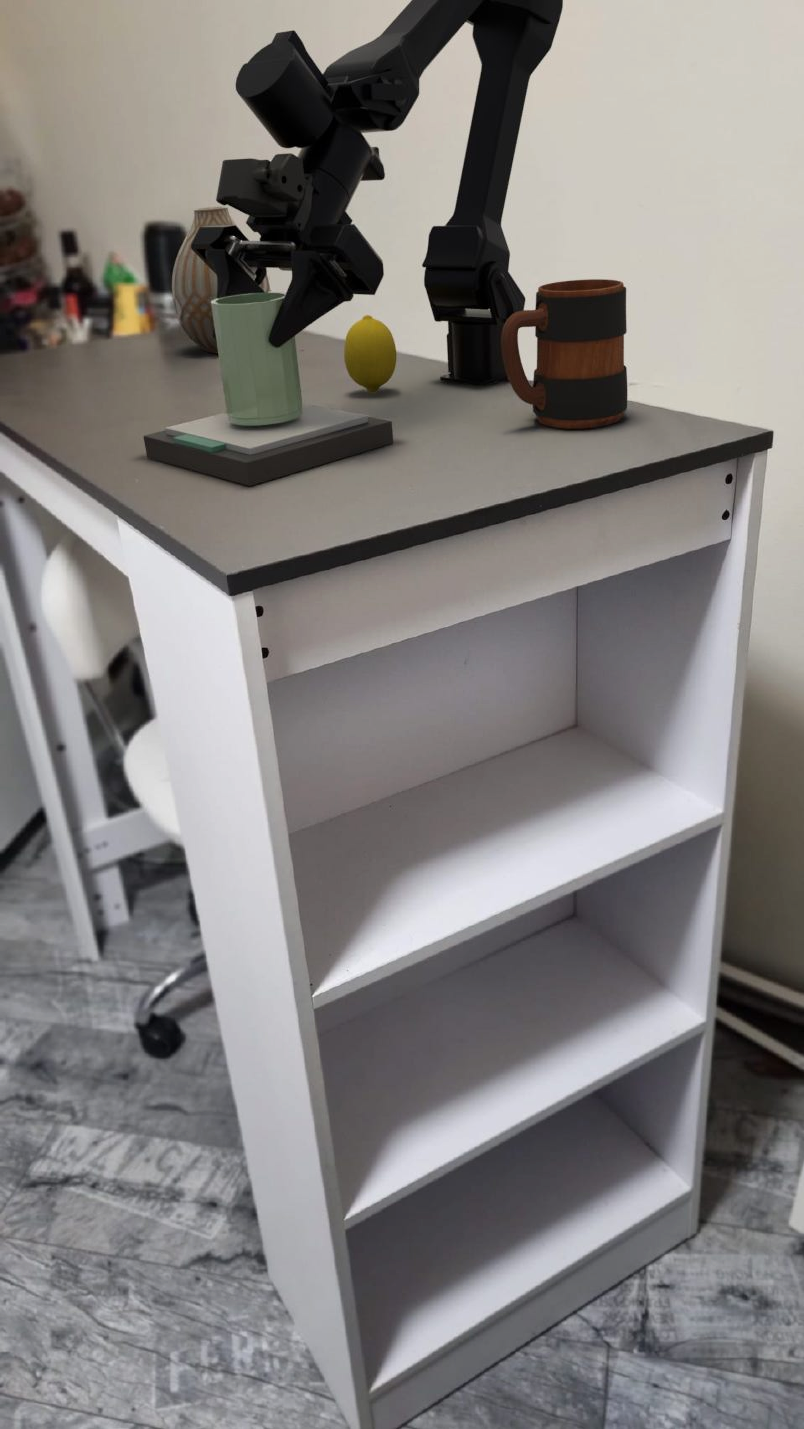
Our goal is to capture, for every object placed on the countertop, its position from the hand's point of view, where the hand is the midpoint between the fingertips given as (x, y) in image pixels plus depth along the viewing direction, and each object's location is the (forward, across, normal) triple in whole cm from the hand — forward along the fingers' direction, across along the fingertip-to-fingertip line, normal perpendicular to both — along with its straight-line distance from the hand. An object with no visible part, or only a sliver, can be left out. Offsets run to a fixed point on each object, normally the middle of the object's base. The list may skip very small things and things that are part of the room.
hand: (244, 342), depth 94 cm
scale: (+6, 0, +8) cm, 10 cm away
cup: (+4, 0, +6) cm, 7 cm away
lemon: (-10, -7, +24) cm, 26 cm away
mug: (-8, +19, +22) cm, 30 cm away
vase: (-19, -45, +33) cm, 59 cm away
